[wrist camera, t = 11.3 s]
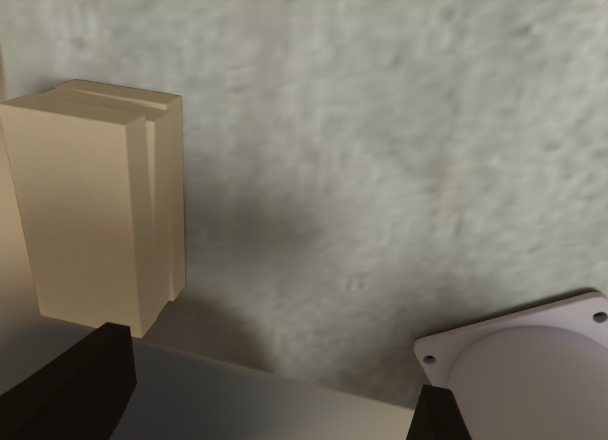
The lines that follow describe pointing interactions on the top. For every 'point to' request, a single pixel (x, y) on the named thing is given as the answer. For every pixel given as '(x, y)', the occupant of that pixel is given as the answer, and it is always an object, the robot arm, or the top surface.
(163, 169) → the beige book
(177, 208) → the beige flat block
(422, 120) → the top surface
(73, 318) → the beige flat slab
